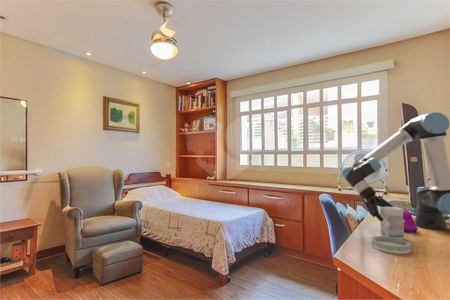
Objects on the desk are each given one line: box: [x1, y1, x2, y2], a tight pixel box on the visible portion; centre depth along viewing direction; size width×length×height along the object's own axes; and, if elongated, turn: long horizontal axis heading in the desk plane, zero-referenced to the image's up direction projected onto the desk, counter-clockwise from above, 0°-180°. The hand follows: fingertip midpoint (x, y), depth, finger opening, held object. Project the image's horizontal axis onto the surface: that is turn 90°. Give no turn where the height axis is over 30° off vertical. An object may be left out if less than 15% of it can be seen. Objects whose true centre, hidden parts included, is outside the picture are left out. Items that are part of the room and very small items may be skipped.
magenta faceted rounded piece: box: [402, 202, 419, 234], centre depth 137 cm, size 11×11×15 cm
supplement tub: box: [379, 206, 405, 240], centre depth 123 cm, size 10×10×15 cm
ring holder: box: [371, 235, 412, 255], centre depth 109 cm, size 14×14×3 cm
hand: (395, 224), depth 122 cm, fingers open, 13 cm apart
